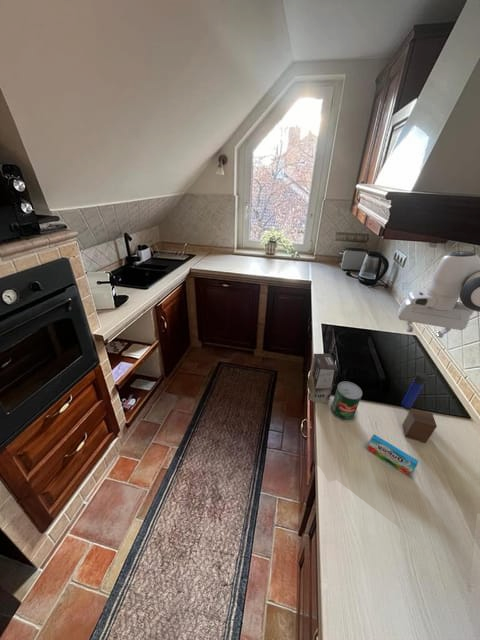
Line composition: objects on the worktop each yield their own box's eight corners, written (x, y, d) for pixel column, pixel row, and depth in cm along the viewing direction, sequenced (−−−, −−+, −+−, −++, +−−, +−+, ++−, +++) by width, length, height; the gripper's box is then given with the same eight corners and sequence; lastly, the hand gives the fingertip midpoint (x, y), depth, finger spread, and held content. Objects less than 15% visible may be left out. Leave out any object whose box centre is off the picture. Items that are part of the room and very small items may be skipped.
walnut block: (402, 424, 86) (411, 408, 82) (422, 430, 85) (432, 413, 80) (404, 437, 82) (414, 420, 78) (425, 443, 81) (437, 426, 76)
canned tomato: (344, 400, 95) (351, 379, 89) (358, 417, 88) (367, 395, 83) (326, 405, 93) (332, 383, 87) (339, 423, 86) (347, 401, 81)
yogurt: (365, 449, 78) (371, 437, 75) (367, 446, 79) (373, 433, 76) (409, 477, 72) (417, 464, 68) (410, 473, 73) (418, 460, 69)
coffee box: (329, 402, 94) (338, 370, 85) (311, 402, 94) (319, 369, 85) (322, 384, 102) (331, 353, 93) (306, 384, 102) (313, 352, 93)
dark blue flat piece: (399, 407, 95) (404, 373, 98) (409, 409, 94) (413, 375, 97) (414, 409, 83) (418, 370, 86) (425, 412, 82) (429, 373, 85)
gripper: (473, 301, 85) (454, 335, 92) (404, 291, 91) (391, 324, 98) (481, 309, 80) (460, 344, 87) (407, 298, 85) (394, 332, 93)
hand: (423, 333), depth 92 cm, fingers open, 8 cm apart
